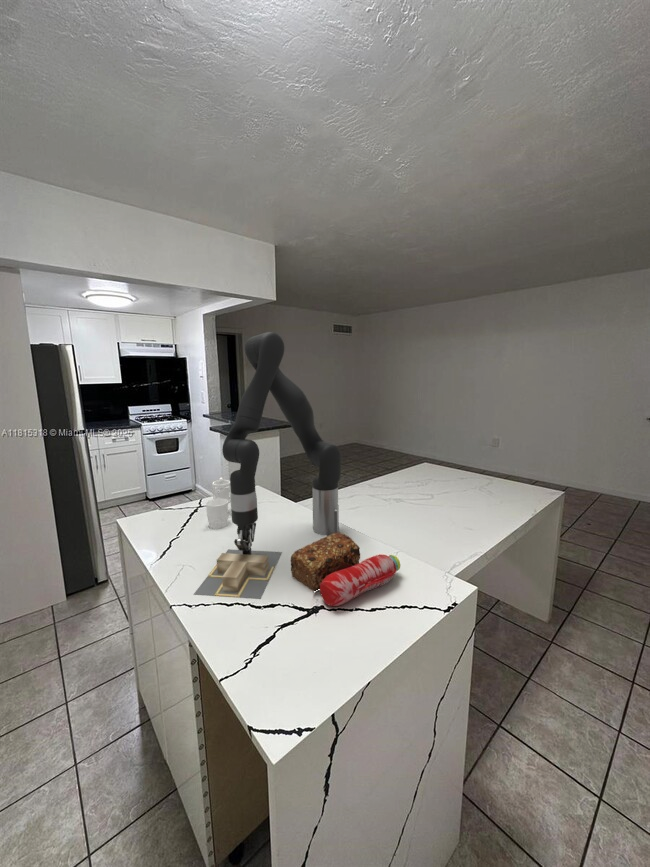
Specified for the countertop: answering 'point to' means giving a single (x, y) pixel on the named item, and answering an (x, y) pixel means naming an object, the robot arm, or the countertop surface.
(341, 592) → the water bottle
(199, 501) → the countertop surface
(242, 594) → the board
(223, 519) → the white cup
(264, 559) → the t block
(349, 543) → the bread
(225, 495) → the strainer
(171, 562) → the countertop surface
